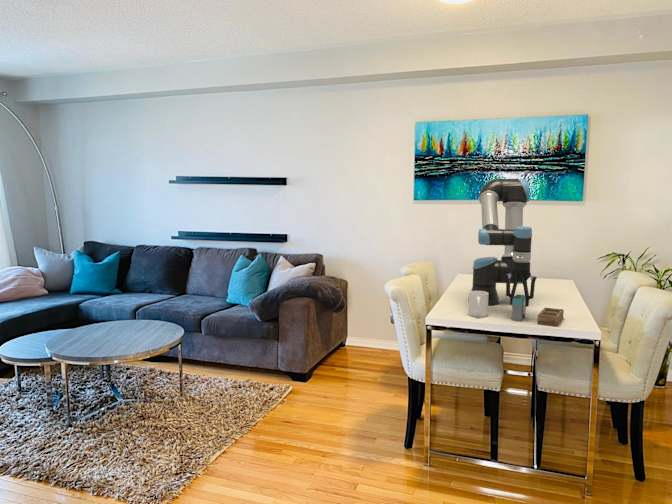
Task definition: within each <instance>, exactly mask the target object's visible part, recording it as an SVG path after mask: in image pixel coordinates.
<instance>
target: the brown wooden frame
mask: <svg viewBox="0 0 672 504" xmlns="http://www.w3.org/2000/svg"><path fill="white" fill-rule="evenodd" d="M564 311H565V310H564V309H563V308H561V309H560V308H555V307H554V308H553V307H543V309H542V310H541V311H540V312H539V313H538V314H537V321H536V324H537V325H542V326H549V327H550V326H551V327H558V326H559V325H560V324H561V322H562V321H563V319H564Z"/></svg>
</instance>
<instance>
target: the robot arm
mask: <svg viewBox="0 0 672 504" xmlns="http://www.w3.org/2000/svg"><path fill="white" fill-rule="evenodd" d="M530 195H531V193H530V185H529V181H527V179H523V178H493V179H491V180H489V181H488V182H486V183H485V184H483V186H482V187H481V189H480V190H479V193H478V202H479V203H480V207H481V227H482V228H480V229H479V230H478V232H477V233H478V239H477V240H478V244H479V245H482V246H483V245H484V246H504V254H502V256H501V259H500V260H499V259H498V257H496V256H488V257H479V258H476V259H475V260H473V265H472V266H473V267H472V269H473V271H472V288H471V290H470V291H485V292H488V293H489V294H488V306H496V305H499V303H500V298H499V294H498V292H497V284H505V296H506V297H507V298H508V297H509V299H510V300H509V305H510V306H512V301H513V297H515V296H516V295H515V294H516V290H517V287H518V285H520V284H522V286H523V292H524V295H525V299H524V303H523V314H525V313H527V308H528V307H529V306H530V299H533V298H534V295H535V287H536V281H537V278H538V276H534V275H532V273H531V256H532V237H533V229H532V227H531V226H525V225H523V224H524V208H525V206H527V202H530V199H531V197H530ZM498 202H502V206H503V208H505V212H504V213H505V214H504V215H505V217H504V224H505V225H504V229H503V228H499V227H500V226H499V216H498ZM528 280H530V281H531V282H530V291H529V288H528ZM511 284H512V288H511ZM468 302H469V299H468Z"/></svg>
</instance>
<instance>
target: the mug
mask: <svg viewBox="0 0 672 504" xmlns="http://www.w3.org/2000/svg"><path fill="white" fill-rule="evenodd" d="M488 294H489V293H488V292H485V291H471V290H470V291H469V292H468V300H469V301H468V315H469V316H471V317H473V316H474V317H475V318H486V317H487V316H488V313H489V311H488V310H489V305H488ZM474 317H473V318H474Z"/></svg>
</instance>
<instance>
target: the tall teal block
mask: <svg viewBox="0 0 672 504" xmlns="http://www.w3.org/2000/svg"><path fill="white" fill-rule="evenodd" d="M524 299H525V294H516V295H514V297H513V301H512V305H511V321H514V322H515V321H516V322H523V319H525V318H526V315H527V314H526V313H527V312H526V313H525V314H523V303H524ZM522 317H523V318H522Z"/></svg>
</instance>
